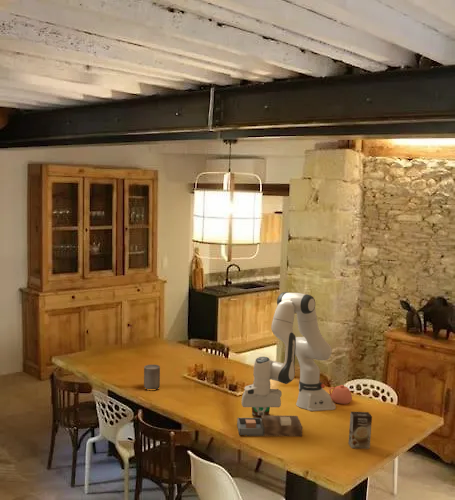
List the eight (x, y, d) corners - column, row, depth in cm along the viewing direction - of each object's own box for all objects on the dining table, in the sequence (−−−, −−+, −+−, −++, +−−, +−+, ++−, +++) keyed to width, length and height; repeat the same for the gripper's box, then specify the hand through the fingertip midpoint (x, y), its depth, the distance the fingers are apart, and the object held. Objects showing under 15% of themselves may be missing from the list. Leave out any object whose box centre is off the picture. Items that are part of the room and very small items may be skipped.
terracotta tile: (245, 419, 309) (245, 424, 309) (246, 423, 304) (246, 427, 304) (254, 419, 309) (254, 424, 310) (256, 423, 304) (255, 427, 305)
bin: (260, 424, 312) (261, 417, 311) (264, 436, 297) (264, 429, 296) (237, 424, 311) (237, 417, 310) (239, 435, 296) (239, 428, 296)
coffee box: (351, 448, 285) (353, 416, 284) (348, 443, 291) (349, 411, 290) (370, 448, 285) (372, 416, 284) (366, 443, 292) (368, 411, 290)
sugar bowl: (351, 406, 344) (352, 389, 343) (327, 404, 347) (328, 387, 346) (351, 399, 356) (352, 382, 355) (328, 397, 359) (328, 380, 358)
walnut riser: (296, 425, 313) (297, 415, 312) (302, 436, 298) (302, 426, 297) (260, 424, 312) (261, 415, 311) (264, 436, 297) (264, 426, 296)
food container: (253, 419, 319) (253, 401, 318) (249, 415, 325) (250, 397, 324) (274, 417, 322) (275, 399, 321) (270, 413, 328) (271, 395, 327)
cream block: (289, 421, 303) (289, 416, 303) (291, 425, 298) (291, 420, 298) (279, 421, 303) (279, 416, 303) (281, 425, 298) (281, 420, 298)
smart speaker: (161, 386, 369) (161, 362, 368) (157, 391, 359) (158, 367, 358) (145, 385, 370) (146, 362, 369) (142, 390, 360) (142, 366, 359)
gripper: (280, 387, 310) (279, 412, 311) (241, 386, 308) (240, 412, 310) (282, 391, 303) (281, 417, 305) (242, 390, 302) (241, 417, 303)
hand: (260, 415), depth 307 cm, fingers closed
